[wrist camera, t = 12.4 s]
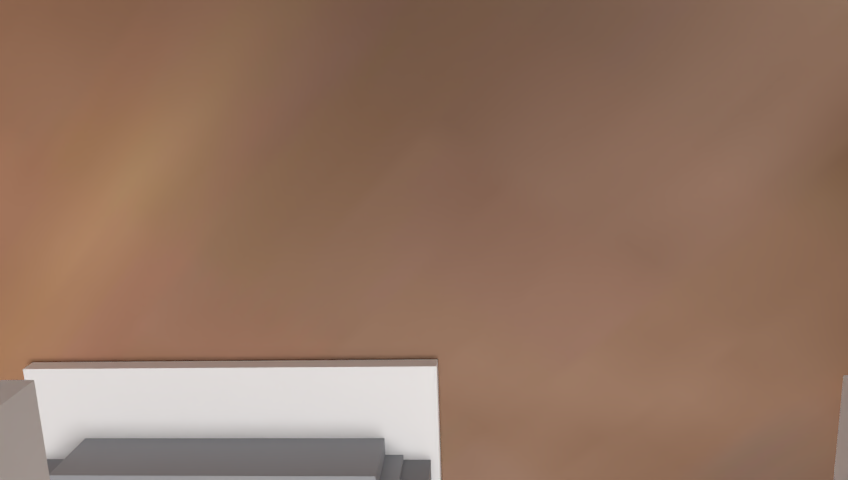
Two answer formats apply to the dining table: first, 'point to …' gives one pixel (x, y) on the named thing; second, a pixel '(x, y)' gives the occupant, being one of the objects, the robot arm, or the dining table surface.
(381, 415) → the white grey flat tray
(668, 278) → the dining table surface
